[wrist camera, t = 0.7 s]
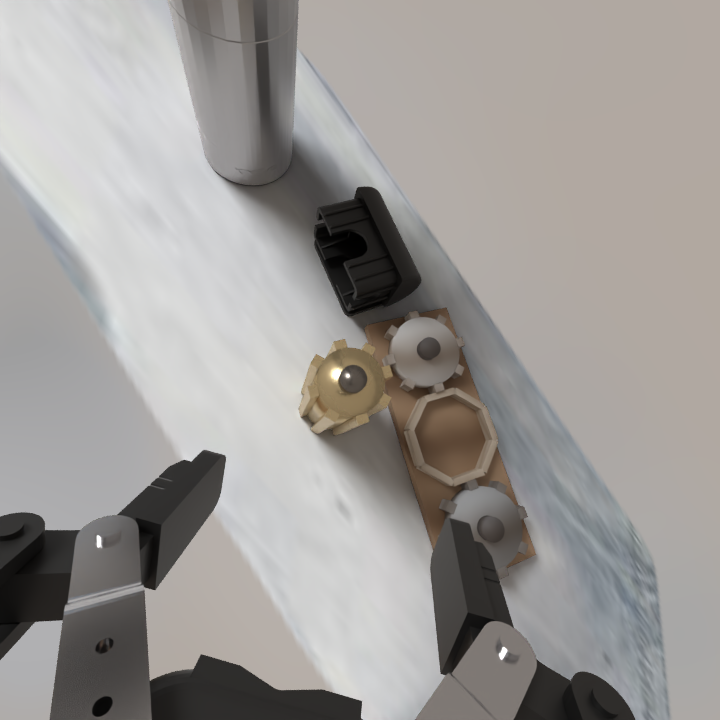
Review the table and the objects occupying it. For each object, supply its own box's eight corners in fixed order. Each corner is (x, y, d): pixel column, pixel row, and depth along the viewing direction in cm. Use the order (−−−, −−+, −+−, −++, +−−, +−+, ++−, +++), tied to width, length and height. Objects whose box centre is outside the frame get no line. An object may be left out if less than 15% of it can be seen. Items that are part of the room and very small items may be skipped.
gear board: (364, 329, 38) (372, 315, 34) (441, 311, 40) (457, 297, 37) (445, 588, 33) (465, 604, 29) (527, 551, 35) (555, 561, 32)
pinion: (291, 383, 35) (297, 346, 23) (350, 368, 36) (381, 327, 25) (307, 443, 34) (322, 435, 22) (367, 426, 35) (408, 410, 24)
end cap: (407, 301, 40) (432, 271, 33) (347, 322, 38) (362, 293, 31) (370, 222, 41) (386, 179, 35) (310, 238, 39) (317, 195, 33)
